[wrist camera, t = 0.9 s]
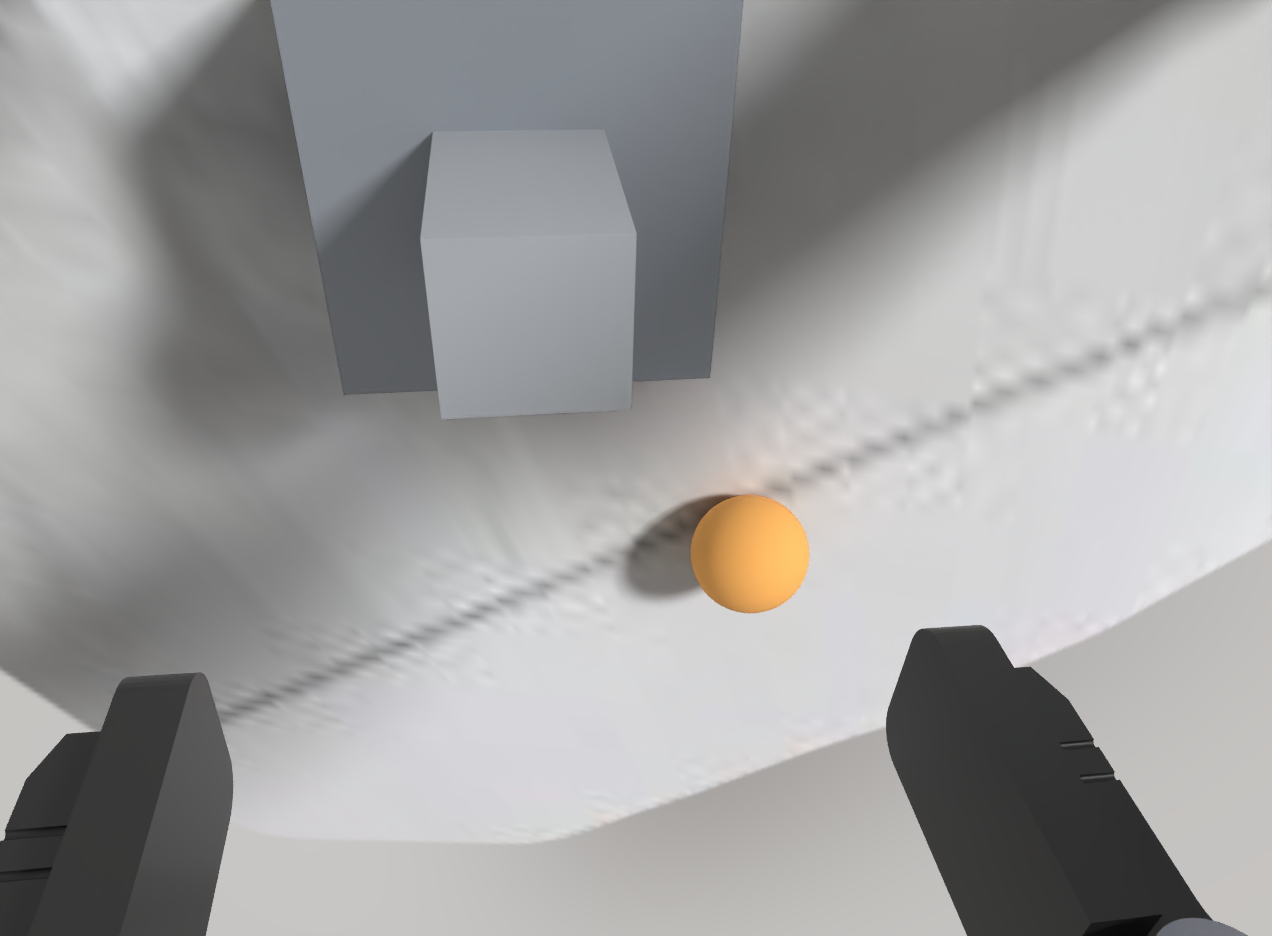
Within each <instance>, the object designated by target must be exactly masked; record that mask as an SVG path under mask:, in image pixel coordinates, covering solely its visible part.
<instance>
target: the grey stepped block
mask: <svg viewBox="0 0 1272 936" xmlns="http://www.w3.org/2000/svg"><path fill="white" fill-rule="evenodd" d="M270 2H271V8H272V13H273V18H274V24H275V29H276V34H277V40H278V45H279V50H280V56H281V61H282V66H283V72H284V77H285V82H286V88H287V93H288V99H289V104H290V109H291V115H292V120H293V125H294V131H295V136H296V141H297V147H298V152H299V157H300V163H301V168H302V173H303V179H304V184H305V189H306V195H307V200H308V205H309V211H310V216H311V221H312V227H313V232H314V237H315V243H316V248H317V253H318V259H319V264H320V269H321V275H322V280H323V285H324V291H325V296H326V302H327V307H328V312H329V318H330V323H331V328H332V334H333V339H334V344H335V350H336V355H337V360H338V366H339V371H340V376H341V382H342V387H343V392H344V395H347V394H369V393H391V392H413V391H435V390H438V397H439V406H440V414H441V419H459V418H479V417H499V416H520V415H540V414H560V413H581V412H601V411H622V410H631V405H632V381H654V380H676V379H698V378H710V372H711V361H712V350H713V338H714V327H715V315H716V304H717V293H718V281H719V270H720V258H721V247H722V236H723V224H724V213H725V201H726V190H727V179H728V167H729V156H730V144H731V133H732V122H733V110H734V99H735V87H736V76H737V65H738V53H739V42H740V31H741V19H742V8H743V0H270Z"/></svg>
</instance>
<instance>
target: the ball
mask: <svg viewBox="0 0 1272 936" xmlns="http://www.w3.org/2000/svg"><path fill="white" fill-rule="evenodd" d="M691 563H692V568H693V571H694V574H695V577H696V579H697V581H698V583H699V584H700V586H701V588H702V589H703V590H704V591H705V593H706V594H707V595H708V596H709V597H710V598H711V599H713V600H714V601H715V602H716V603H718V604H720V605H721V606H723V607H725V608H728V609H730V610H733V611H737V612H742V613H759V612H764V611H768V610H771V609H773V608H776V607H778V606H780V605H781V604H783V603H784V602H786V601H787V600H788V599H789V598H791V597H792V596H793V595H794V593H795V592H796V591H797V590H798V589H799V587H800V585H801V584H802V582H803V580H804V578H805V575H806V572H807V568H808V564H809V546H808V541H807V537H806V534H805V532H804V529H803V527H802V526H801V524H800V522H799V521H798V519H797V518H796V517H795V516H794V514H793V513H792V512H791V511H790V510H788V509H787V508H786V507H785V506H783V505H782V504H780V503H778V502H776V501H774V500H772V499H770V498H767V497H763V496H758V495H741V496H736V497H732V498H729V499H727V500H724V501H722V502H720V503H719V504H717V505H716V506H714V507H713V508H712V509H710V510H709V511H708V512H707V513H706V514H705V516H704V517H703V518H702V519H701V521H700V522H699V524H698V526H697V528H696V530H695V532H694V535H693V539H692V543H691Z"/></svg>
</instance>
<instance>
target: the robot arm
mask: <svg viewBox="0 0 1272 936" xmlns="http://www.w3.org/2000/svg"><path fill="white" fill-rule="evenodd" d="M886 733H887V742H888V747H889V752H890V755H891V758H892V761H893V764H894V766H895V768H896V771H897V773H898V776H899V778H900V780H901V783H902V785H903V787H904V789H905V792H906V794H907V796H908V799H909V801H910V804H911V806H912V808H913V810H914V812H915V815H916V817H917V819H918V822H919V824H920V827H921V829H922V831H923V834H924V836H925V838H926V841H927V843H928V845H929V848H930V850H931V852H932V854H933V857H934V859H935V862H936V864H937V866H938V869H939V871H940V873H941V876H942V878H943V880H944V883H945V885H946V887H947V890H948V892H949V894H950V896H951V899H952V901H953V903H954V906H955V908H956V910H957V913H958V915H959V917H960V920H961V922H962V924H963V927H964V929H965V931H966V934H967V936H1247V935H1246V934H1244V933H1242V932H1240V931H1238V930H1237V929H1234V928H1233V927H1230V926H1228V925H1225V924H1223V923H1220V922H1216V921H1213V920H1212V919H1211V918H1210V917H1209V915H1208V914H1207V913H1206V912H1205V910H1204V909H1203V908H1202V906H1201V905H1200V903H1199V902H1198V901H1197V899H1196V898H1195V896H1194V895H1193V893H1192V892H1191V890H1190V888H1189V887H1188V885H1187V884H1186V882H1185V881H1184V879H1183V877H1182V876H1181V875H1180V873H1179V871H1178V870H1177V868H1176V867H1175V865H1174V863H1173V862H1172V860H1171V859H1170V857H1169V856H1168V854H1167V853H1166V851H1165V849H1164V848H1163V846H1162V845H1161V843H1160V842H1159V840H1158V839H1157V837H1156V835H1155V834H1154V832H1153V831H1152V829H1151V828H1150V826H1149V825H1148V823H1147V821H1146V820H1145V818H1144V817H1143V815H1142V814H1141V812H1140V811H1139V809H1138V807H1137V806H1136V805H1135V803H1134V801H1133V800H1132V798H1131V797H1130V795H1129V794H1128V792H1127V790H1126V789H1125V787H1124V786H1123V784H1122V782H1121V781H1120V780H1116V779H1115V777H1114V770H1113V768H1112V767H1111V765H1110V764H1109V762H1108V761H1107V759H1106V758H1105V756H1104V754H1103V753H1102V751H1101V750H1100V748H1099V747H1095V746H1094V744H1093V740H1094V739H1093V738H1092V736H1091V734H1090V733H1089V731H1088V730H1087V728H1086V726H1085V725H1084V723H1083V722H1082V720H1081V719H1080V717H1079V716H1078V714H1077V712H1076V711H1075V709H1074V708H1073V706H1072V705H1071V703H1070V702H1069V700H1068V699H1067V698H1066V697H1065V696H1063V695H1062V694H1061V693H1060V692H1059V691H1058V690H1057V689H1055V688H1054V687H1053V686H1052V685H1051V684H1050V683H1048V682H1047V681H1046V680H1045V679H1044V678H1043V677H1042V676H1040V675H1039V674H1038V673H1037V672H1036V671H1035V670H1033V669H1032V668H1031V667H1021V668H1014V667H1013V665H1012V664H1011V662H1010V660H1009V659H1008V657H1007V655H1006V654H1005V652H1004V650H1003V649H1002V647H1001V646H1000V644H999V642H998V641H997V639H996V637H995V636H994V635H993V633H992V632H991V631H990V630H989V629H987V628H986V627H984V626H982V625H972V626H957V627H941V628H926V629H920V630H918V631H917V632H916V634H915V635H914V637H913V639H912V641H911V644H910V647H909V650H908V653H907V656H906V659H905V662H904V665H903V667H902V670H901V673H900V676H899V679H898V682H897V685H896V688H895V690H894V693H893V696H892V699H891V702H890V705H889V708H888V712H887V718H886ZM232 799H233V773H232V764H231V759H230V755H229V752H228V748H227V745H226V741H225V738H224V735H223V731H222V728H221V724H220V721H219V717H218V714H217V711H216V707H215V704H214V700H213V697H212V693H211V690H210V686H209V683H208V681H207V678H206V677H205V675H204V674H203V673H185V674H170V675H154V676H139V677H127V678H125V679H123V680H122V681H121V683H120V684H119V686H118V687H117V689H116V692H115V694H114V697H113V699H112V702H111V705H110V708H109V711H108V713H107V716H106V719H105V722H104V725H103V727H102V730H101V731H100V732H86V733H72V734H66V735H65V736H64V737H63V738H62V740H61V741H60V742H59V743H58V744H57V745H56V746H55V748H54V749H53V750H52V751H51V752H50V753H49V754H48V755H47V756H46V758H45V759H44V760H43V761H42V762H41V763H40V764H39V765H38V767H37V768H36V769H35V770H34V771H33V772H32V773H31V774H30V776H29V777H28V778H27V779H26V781H25V783H24V786H23V789H22V790H21V793H20V795H19V798H18V800H17V803H16V805H15V807H14V810H13V812H12V815H11V817H10V819H9V822H8V824H7V827H6V829H5V833H6V835H5V839H4V841H0V936H206V931H207V926H208V921H209V917H210V912H211V907H212V903H213V898H214V893H215V888H216V883H217V879H218V874H219V869H220V864H221V859H222V854H223V850H224V845H225V840H226V836H227V831H228V826H229V821H230V816H231V809H232Z"/></svg>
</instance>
